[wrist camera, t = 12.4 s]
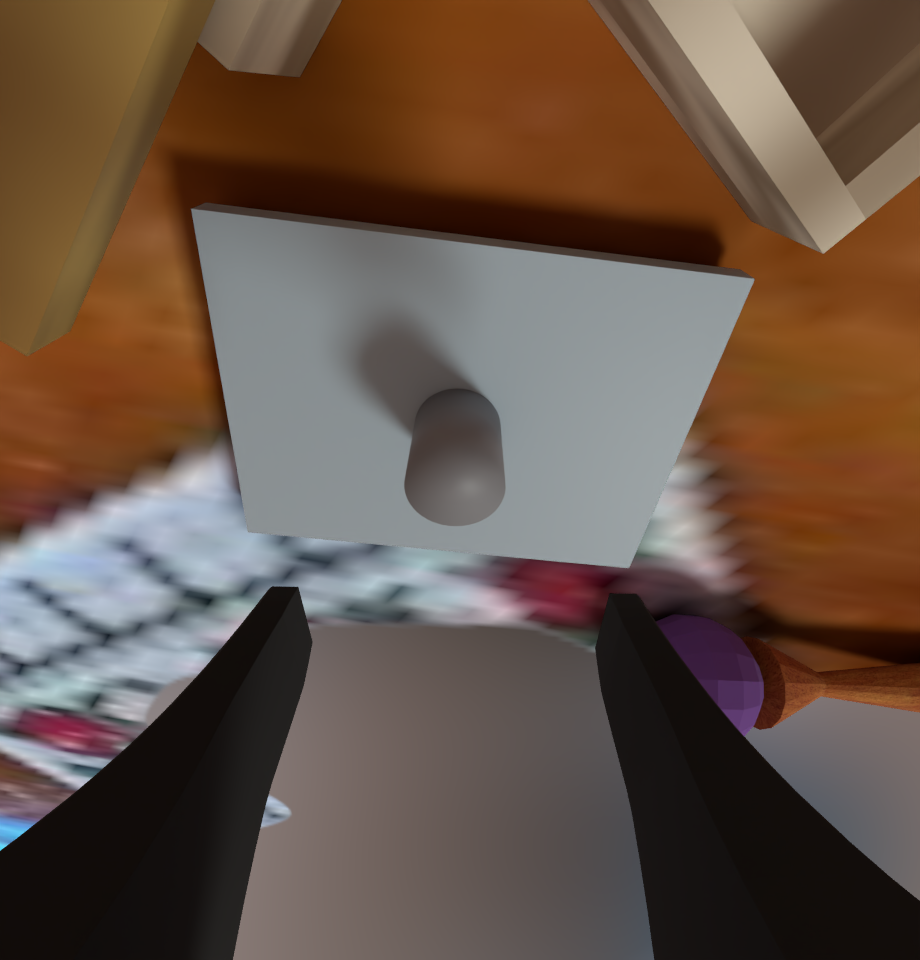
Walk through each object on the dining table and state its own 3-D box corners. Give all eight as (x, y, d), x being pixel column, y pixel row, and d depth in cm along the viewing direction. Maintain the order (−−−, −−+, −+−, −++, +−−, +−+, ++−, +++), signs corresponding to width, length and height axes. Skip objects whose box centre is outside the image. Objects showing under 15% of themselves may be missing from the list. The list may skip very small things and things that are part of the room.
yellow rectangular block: (279, -145, 8) (244, -188, 7) (70, 331, 13) (27, 356, 11) (76, -374, 7) (-8, -473, 6) (-72, 241, 11) (-138, 259, 10)
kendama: (981, 769, 27) (622, 764, 25) (912, 659, 31) (596, 644, 29) (1101, 734, 23) (681, 722, 20) (1003, 611, 27) (641, 588, 24)
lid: (727, 261, 17) (818, 321, 12) (618, 536, 24) (651, 636, 19) (219, 197, 16) (122, 237, 12) (263, 501, 23) (214, 598, 19)
